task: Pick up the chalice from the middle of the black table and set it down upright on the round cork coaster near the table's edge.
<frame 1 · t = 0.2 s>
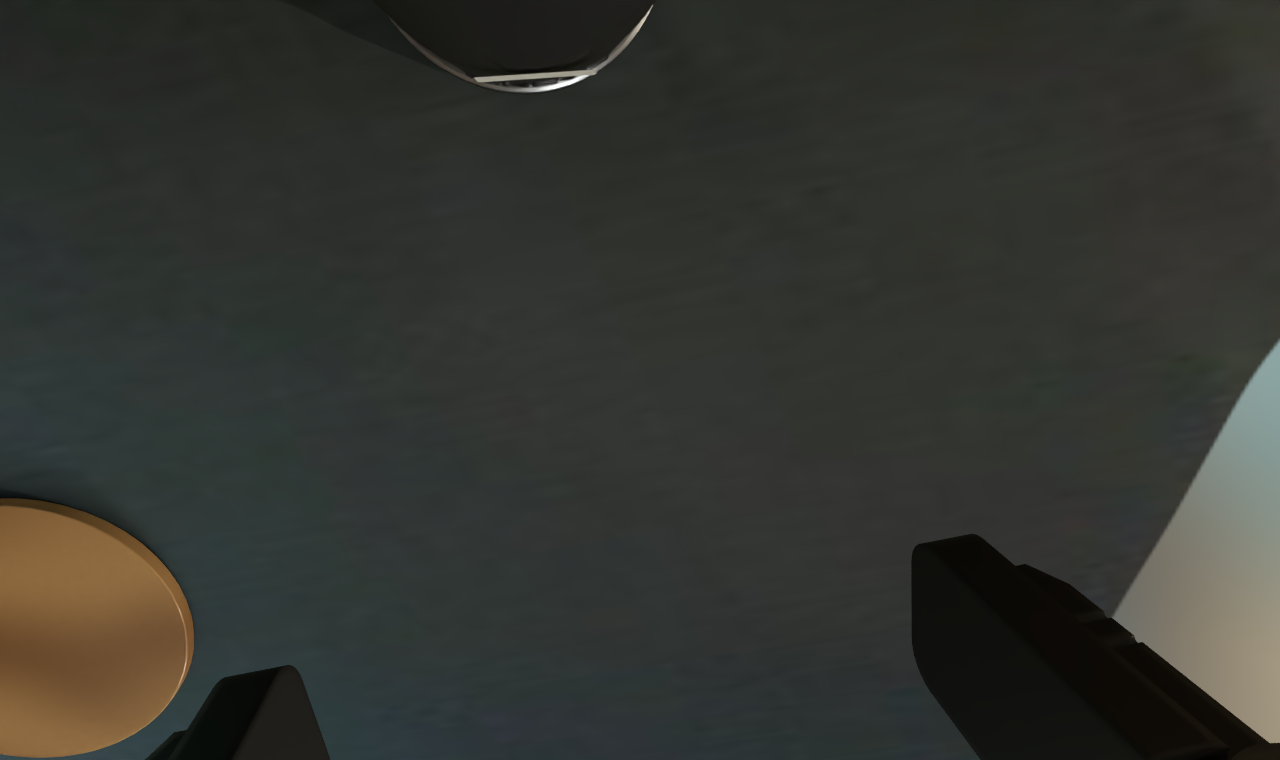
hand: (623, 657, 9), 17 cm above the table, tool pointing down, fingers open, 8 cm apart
coaster: (36, 629, 26), on the table
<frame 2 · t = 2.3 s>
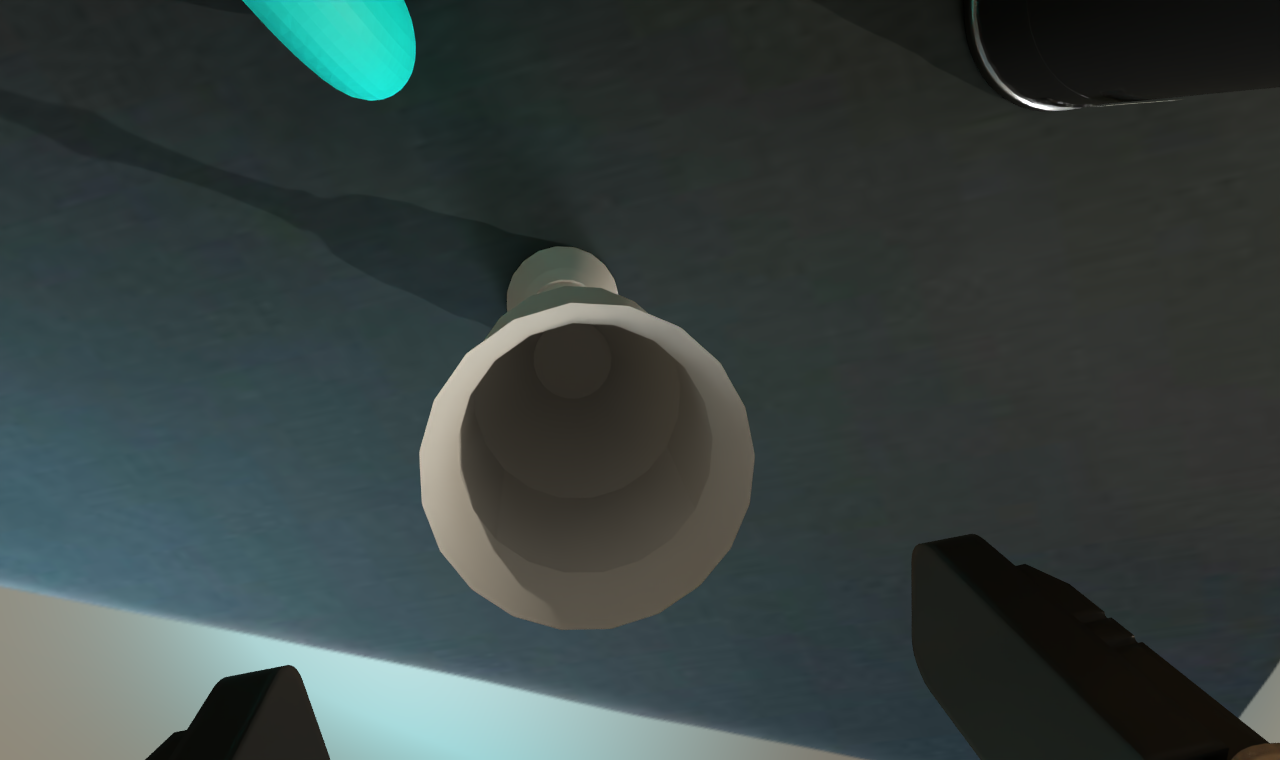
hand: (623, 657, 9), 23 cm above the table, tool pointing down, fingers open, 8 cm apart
chalice: (563, 302, 31), on the table
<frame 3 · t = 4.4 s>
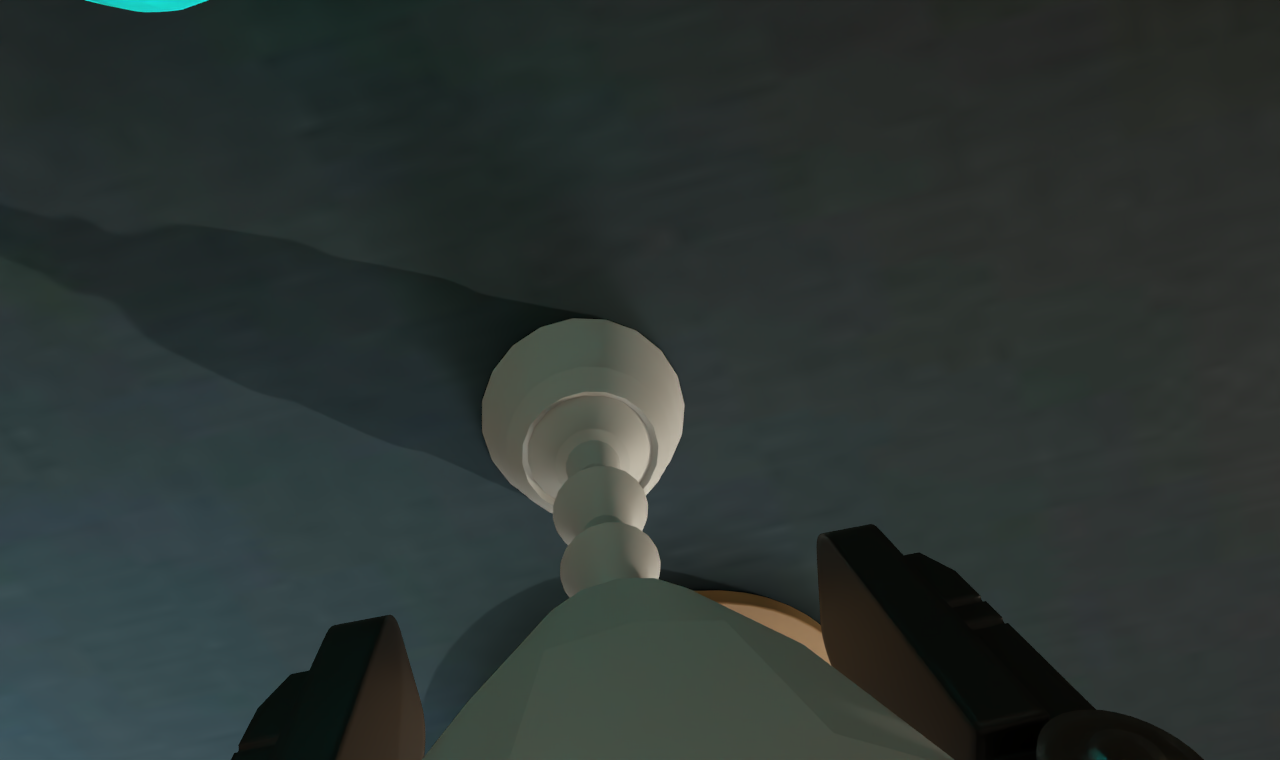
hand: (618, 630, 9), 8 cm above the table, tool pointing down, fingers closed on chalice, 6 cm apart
coaster: (690, 746, 21), on the table
chalice: (584, 415, 17), on the table, touching gripper
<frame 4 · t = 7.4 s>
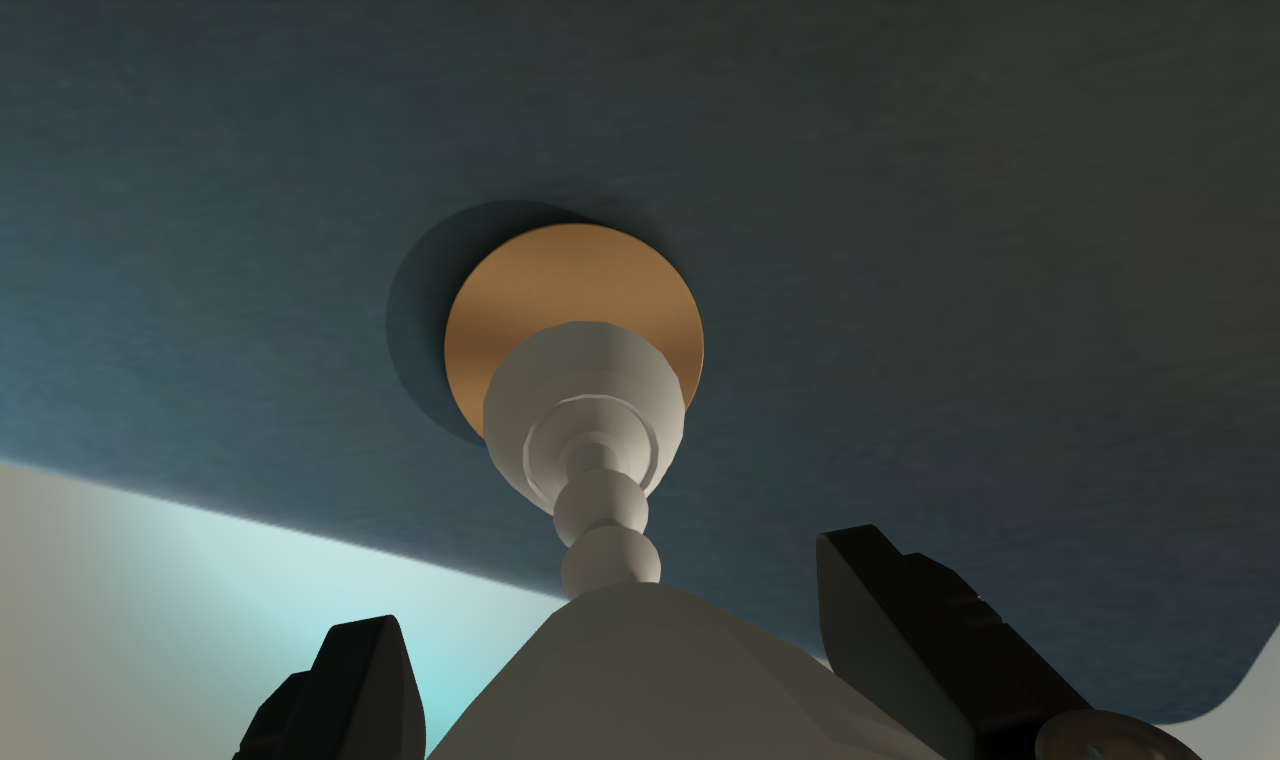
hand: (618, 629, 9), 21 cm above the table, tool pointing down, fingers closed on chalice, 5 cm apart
coaster: (576, 352, 30), on the table
chalice: (585, 417, 17), point 13 cm above the table, touching gripper
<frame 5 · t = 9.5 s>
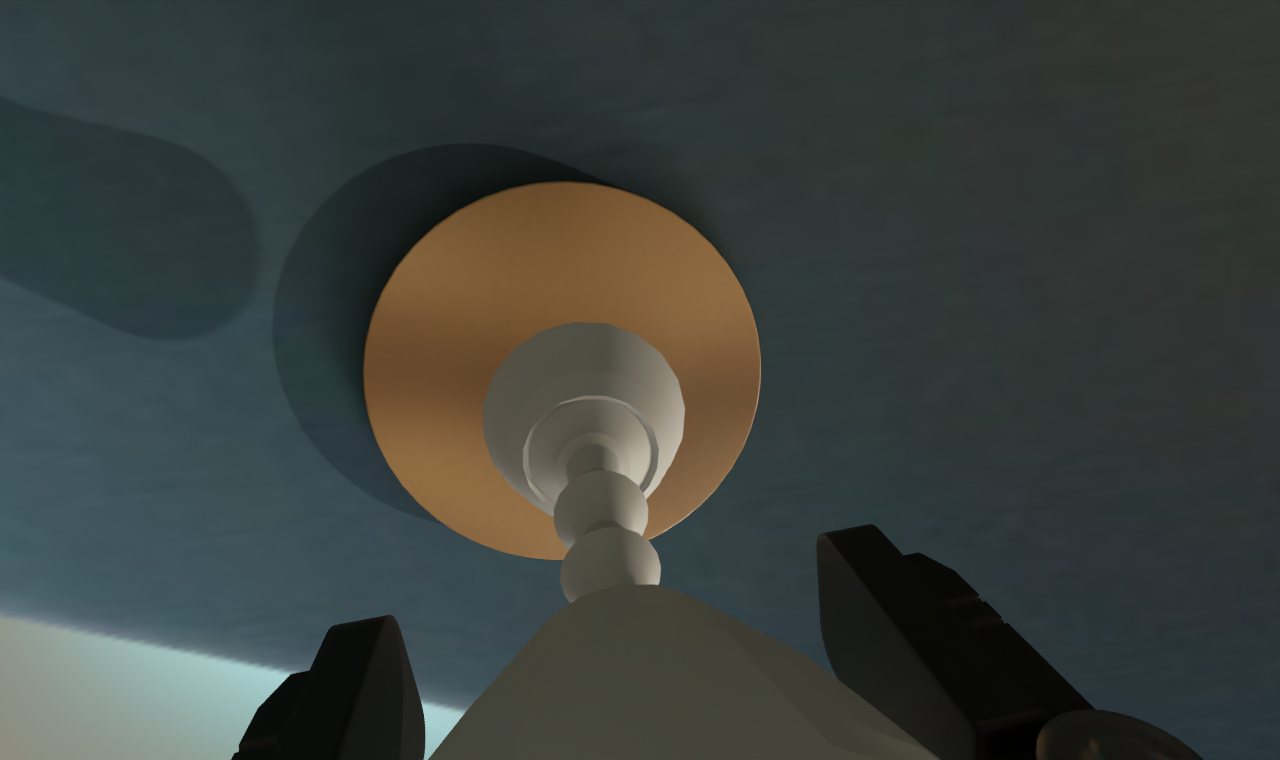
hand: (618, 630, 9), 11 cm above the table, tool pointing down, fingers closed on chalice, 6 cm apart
coaster: (569, 380, 20), on the table
chalice: (585, 418, 17), point 3 cm above the table, touching gripper
when the fingers open (9 cm above the table, at t = 10.7 s): chalice stays where it is, resting on coaster.
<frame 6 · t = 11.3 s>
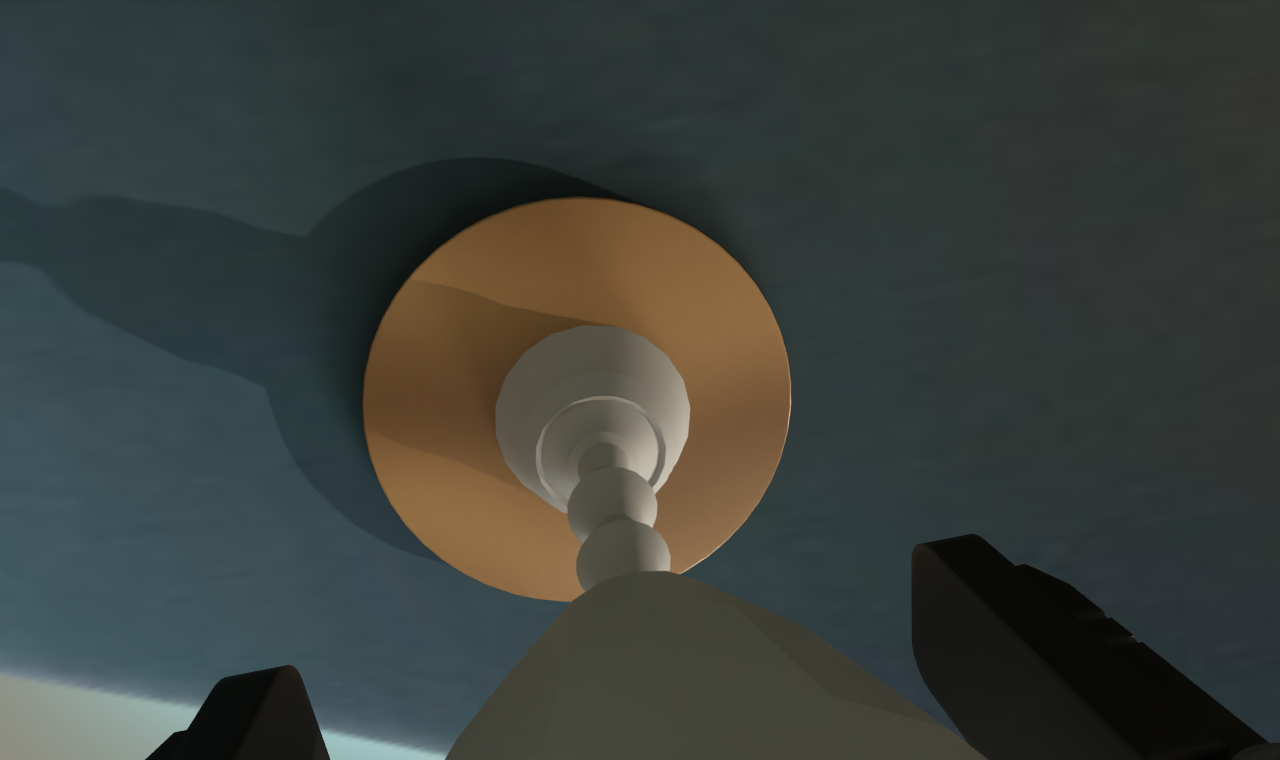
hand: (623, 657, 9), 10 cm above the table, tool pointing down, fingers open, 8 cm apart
coaster: (584, 410, 18), on the table
chalice: (593, 418, 18), resting on coaster
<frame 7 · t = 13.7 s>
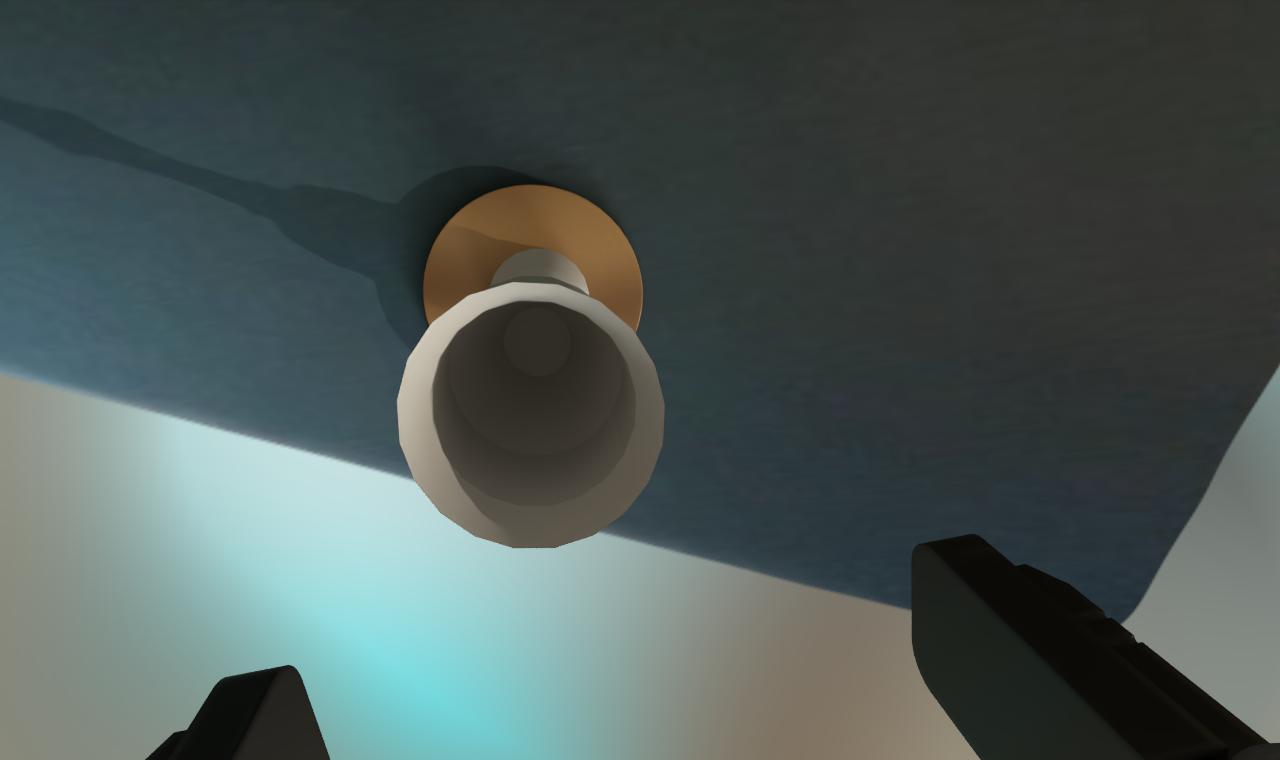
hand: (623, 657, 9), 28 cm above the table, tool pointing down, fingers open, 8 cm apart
coaster: (535, 295, 35), on the table
chalice: (539, 298, 35), resting on coaster
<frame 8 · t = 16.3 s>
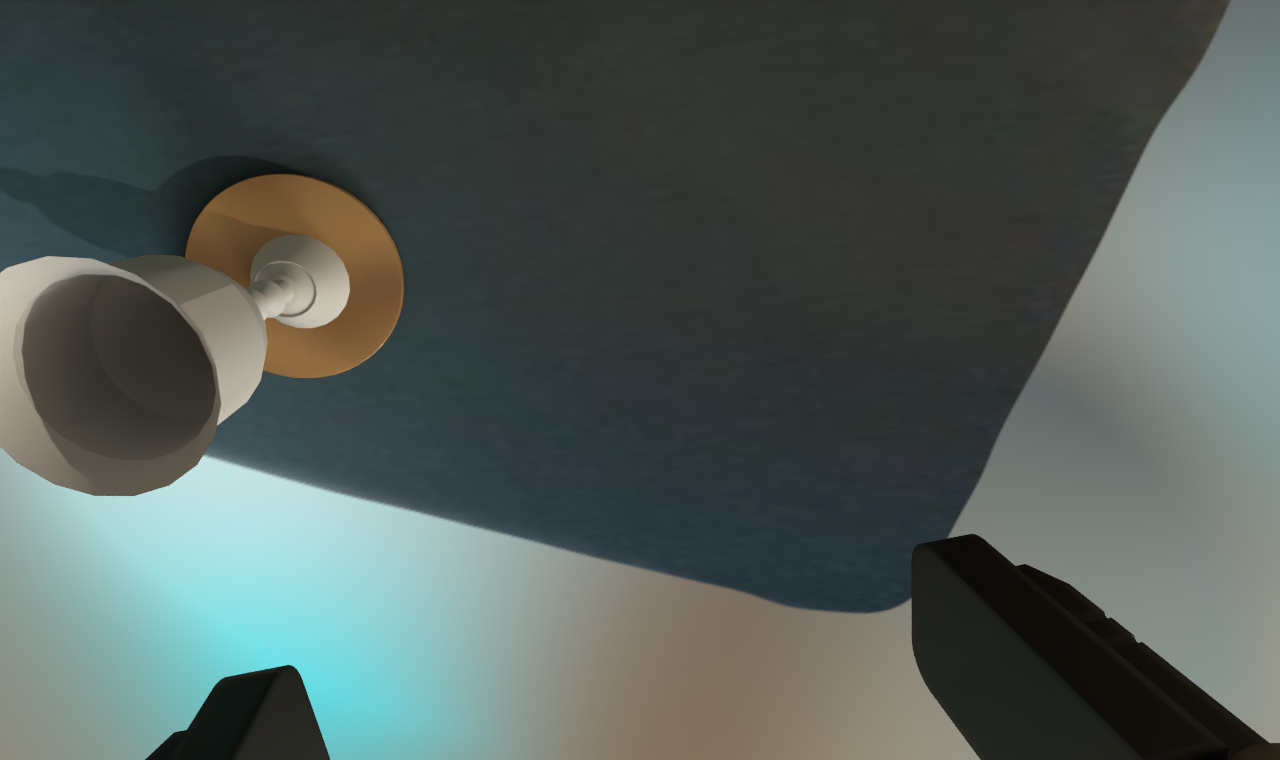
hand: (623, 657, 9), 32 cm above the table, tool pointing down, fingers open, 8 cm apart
coaster: (299, 278, 37), on the table
chalice: (301, 281, 37), resting on coaster
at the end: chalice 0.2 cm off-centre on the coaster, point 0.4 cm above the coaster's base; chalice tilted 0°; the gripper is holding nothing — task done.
